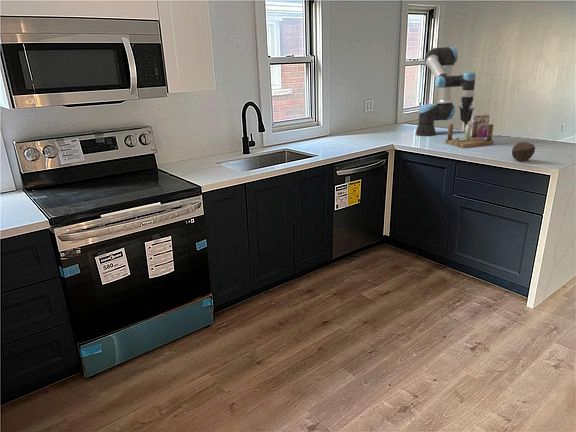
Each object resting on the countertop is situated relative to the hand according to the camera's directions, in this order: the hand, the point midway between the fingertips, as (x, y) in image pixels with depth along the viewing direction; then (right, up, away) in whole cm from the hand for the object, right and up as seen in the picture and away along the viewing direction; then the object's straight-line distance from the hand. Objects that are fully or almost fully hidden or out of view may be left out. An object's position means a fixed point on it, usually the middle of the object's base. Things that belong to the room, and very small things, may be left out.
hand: (464, 131), depth 295 cm
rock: (+13, -28, -50) cm, 58 cm away
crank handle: (-3, -7, -2) cm, 8 cm away
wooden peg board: (+3, -9, 0) cm, 10 cm away
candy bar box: (+19, -1, +21) cm, 28 cm away
